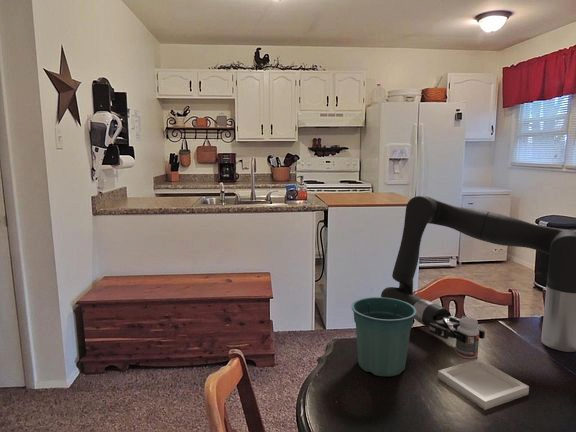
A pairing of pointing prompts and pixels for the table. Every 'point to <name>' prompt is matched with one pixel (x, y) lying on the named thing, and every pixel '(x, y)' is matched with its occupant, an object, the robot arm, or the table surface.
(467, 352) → the pill bottle
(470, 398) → the tray
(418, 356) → the table surface
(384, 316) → the flower pot
